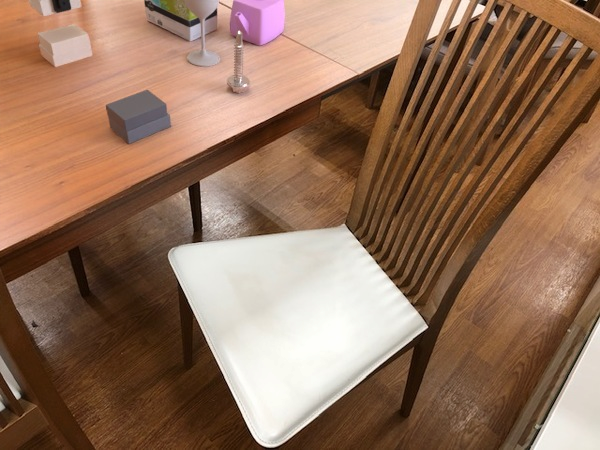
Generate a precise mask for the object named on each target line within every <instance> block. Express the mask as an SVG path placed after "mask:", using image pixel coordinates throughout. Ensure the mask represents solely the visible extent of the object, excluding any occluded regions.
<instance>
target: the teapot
mask: <svg viewBox="0 0 600 450" xmlns="http://www.w3.org/2000/svg"><path fill="white" fill-rule="evenodd" d="M285 15H286V14H285V2H284V0H233V1H232V5H231V10H230V18H229V31H230V34H231V36H233V37H235V38H236V31H239V30H240V31H241V32H242V41H245V42H248V43H251V44H253V45H257V46H264V45H265V44H268V43H270V42H271V41H273V40H274V39H276V38H277V37H279V35H281V34H282V33H283V31H284V28H285V19H286V16H285Z"/></svg>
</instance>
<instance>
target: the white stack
mask: <svg viewBox="0 0 600 450" xmlns="http://www.w3.org/2000/svg"><path fill="white" fill-rule="evenodd" d="M89 35H90V34H89V33H88V32H86V31H85V30H84V29H82V28H81V27H79V25H77V24H76V23H72V24H68V25H64V26H60V27H56V28H51V29H48V30H44V31H40V32H37V38H38V42H39V44H38V48H39V51H40V55H41V56H42V58H43V59H45V60H47V62H49V64H51V65H53V66H54V67H55V68H57V67H61V66H63V65H68V64H70V63H73V62H78V61H81V60H83V59H87V58H90V57H93V56H94V55H93V50H92V46H91V45H92V44H91V40H90V37H89Z"/></svg>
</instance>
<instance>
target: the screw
mask: <svg viewBox="0 0 600 450" xmlns="http://www.w3.org/2000/svg"><path fill="white" fill-rule="evenodd" d="M244 48H245V47H244V43H243V40H242V32H241V31H240V30H239V31H236V37H235V41H234V47H233V49H234V50H233V52H234V53H233V58H234V59H233V63H234V64H233V71H234V72H233V74H231V75H230V76H228V77H227V78H226V84H227V86H229V87H231V89H232V92H233V93H236V94H241V93H243V92H245V91H246V89H245V88H247V87H249V86H250V84H251V80H250V78H248V77H247V76H246V75H244V74H243V73H244Z"/></svg>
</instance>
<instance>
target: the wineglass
mask: <svg viewBox="0 0 600 450" xmlns="http://www.w3.org/2000/svg"><path fill="white" fill-rule="evenodd" d="M184 2H185V4H186V6H187V8H188V9H189V10H190V11H191V12H192V13H193V14H195V15H196V16H197V17H198V18H199V19H200V23H201V37H200V40H201V41H200V42H201V44H200V45H201V48H200V49H198V50H193V51H191V52H190V53H188V54H187V61H188V62H189V63H190V64H192V65H194V66H197V67H201V68H202V67H203V68H205V67H207V68H208V67H213V66H215V65H217V64H219V62H220V60H221V58H220V55H219V54H218V53H216V52H214V51H212V50H209V49H208V50H207V49H206V40H205V39H206V37H205V36H206V35H204V21H205V18H206V17H208V16H209V15H210V14H211V13H213V12H214V10H215V9H216V8H217V9H218V7H219V3H220V0H184Z"/></svg>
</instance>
